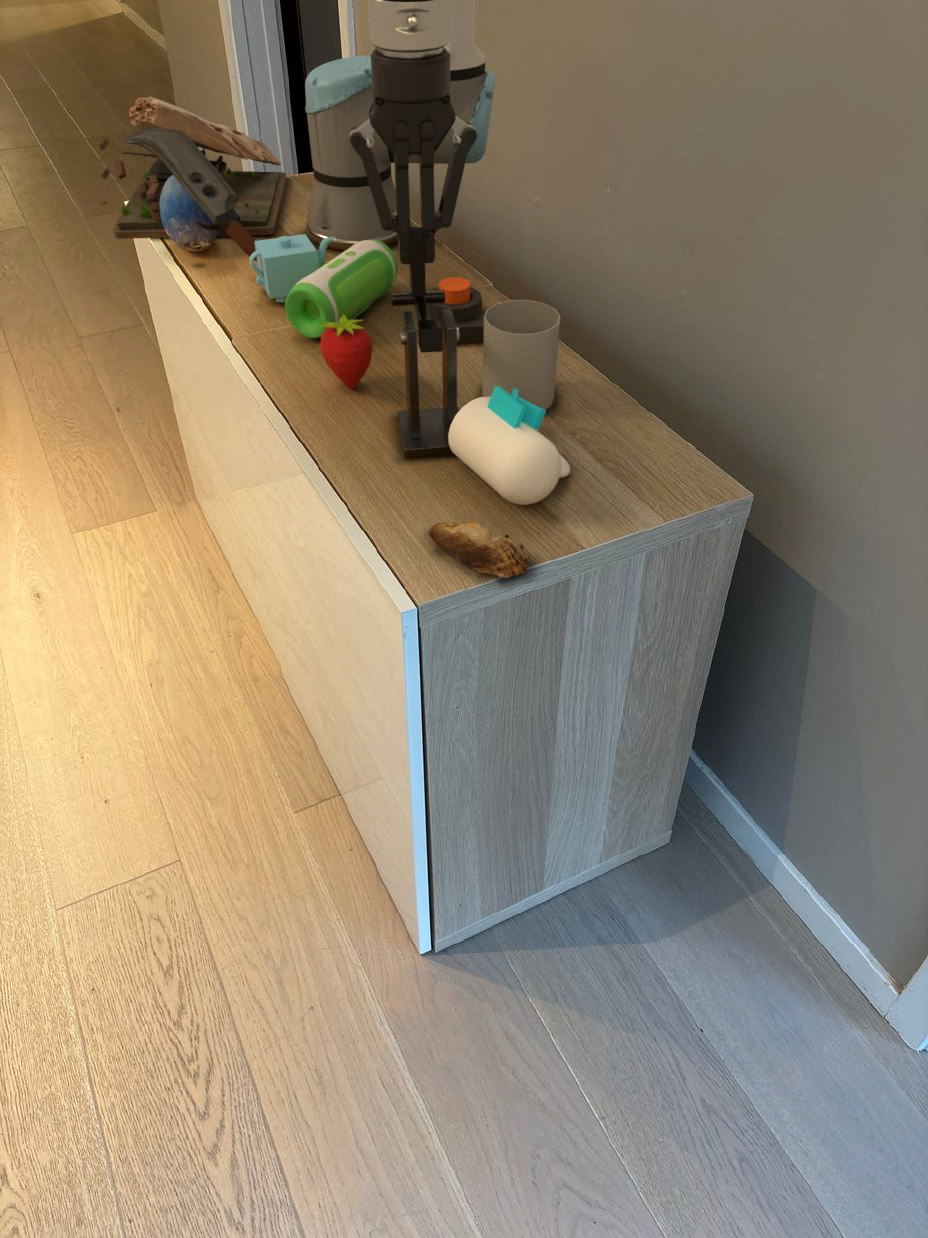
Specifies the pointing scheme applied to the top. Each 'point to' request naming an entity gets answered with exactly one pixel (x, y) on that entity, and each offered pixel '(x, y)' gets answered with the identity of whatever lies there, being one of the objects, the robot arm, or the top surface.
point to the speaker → (341, 287)
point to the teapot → (286, 262)
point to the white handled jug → (507, 446)
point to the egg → (184, 218)
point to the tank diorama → (253, 188)
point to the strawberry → (346, 350)
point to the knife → (197, 168)
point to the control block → (463, 317)
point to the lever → (424, 317)
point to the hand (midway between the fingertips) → (418, 290)
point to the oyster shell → (480, 548)
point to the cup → (521, 350)
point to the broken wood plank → (199, 130)
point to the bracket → (418, 426)
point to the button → (455, 290)
